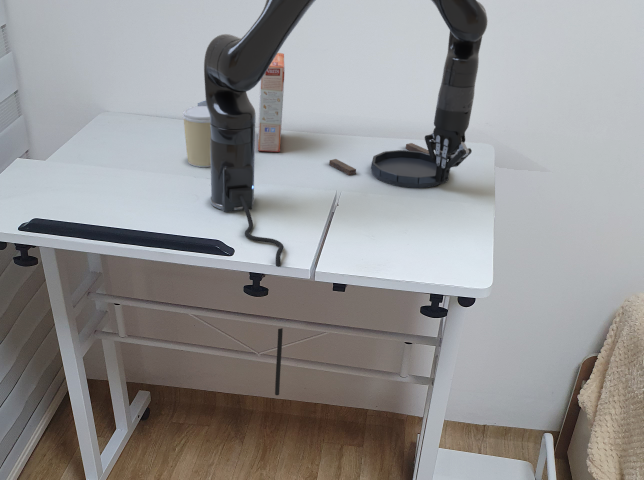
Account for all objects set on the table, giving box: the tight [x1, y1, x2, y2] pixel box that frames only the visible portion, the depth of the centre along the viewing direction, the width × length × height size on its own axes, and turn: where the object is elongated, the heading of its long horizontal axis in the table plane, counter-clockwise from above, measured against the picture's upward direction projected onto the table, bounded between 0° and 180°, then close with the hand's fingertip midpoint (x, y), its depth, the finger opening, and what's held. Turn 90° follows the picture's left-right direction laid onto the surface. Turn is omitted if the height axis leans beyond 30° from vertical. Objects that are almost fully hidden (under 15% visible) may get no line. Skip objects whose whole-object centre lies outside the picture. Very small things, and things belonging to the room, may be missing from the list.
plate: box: [370, 149, 441, 189], centre depth 173 cm, size 18×18×3 cm
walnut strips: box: [328, 142, 429, 176], centre depth 180 cm, size 8×27×1 cm, turn 123°
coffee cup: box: [182, 105, 211, 168], centre depth 173 cm, size 9×9×12 cm
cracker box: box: [257, 52, 286, 153], centre depth 182 cm, size 14×6×21 cm, turn 179°
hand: (440, 182), depth 166 cm, fingers closed
